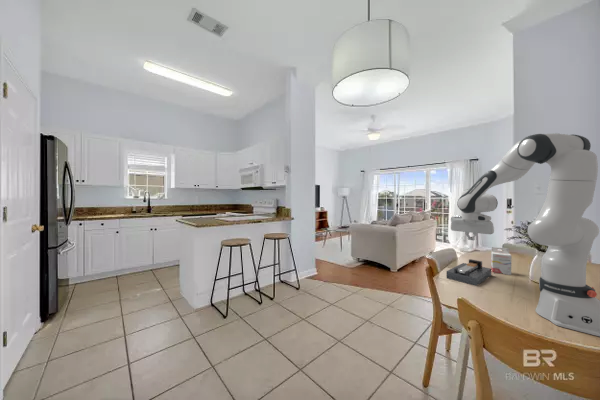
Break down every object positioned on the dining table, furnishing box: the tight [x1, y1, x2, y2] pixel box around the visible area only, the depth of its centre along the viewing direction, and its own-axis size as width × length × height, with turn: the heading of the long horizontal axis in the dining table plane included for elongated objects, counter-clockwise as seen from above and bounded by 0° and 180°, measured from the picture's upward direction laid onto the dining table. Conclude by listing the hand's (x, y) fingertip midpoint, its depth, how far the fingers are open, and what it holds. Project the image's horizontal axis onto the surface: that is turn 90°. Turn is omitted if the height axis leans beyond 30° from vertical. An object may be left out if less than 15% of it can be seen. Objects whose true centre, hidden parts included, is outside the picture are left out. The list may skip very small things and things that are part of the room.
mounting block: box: [446, 258, 492, 287], centre depth 128 cm, size 14×24×8 cm, turn 125°
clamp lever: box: [457, 262, 478, 274], centre depth 127 cm, size 4×19×2 cm, turn 125°
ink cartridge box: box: [490, 246, 512, 276], centre depth 133 cm, size 9×5×15 cm, turn 58°
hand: (471, 240), depth 130 cm, fingers closed
